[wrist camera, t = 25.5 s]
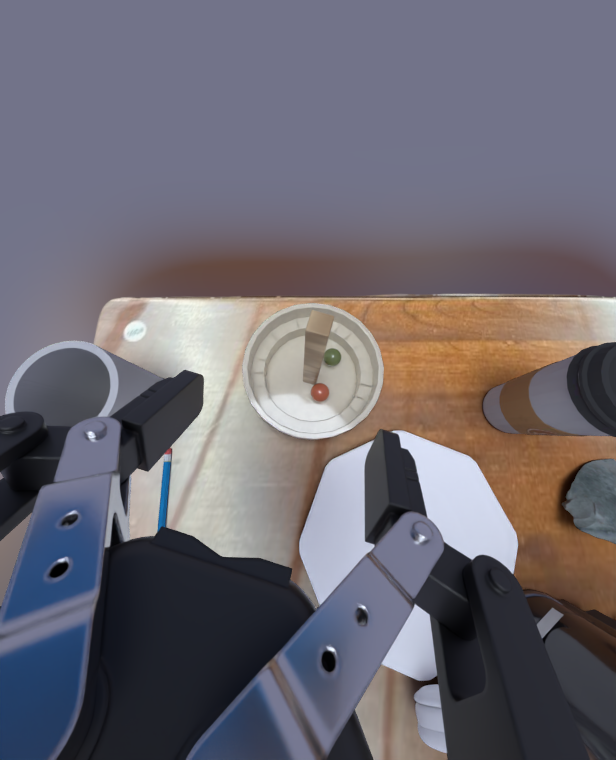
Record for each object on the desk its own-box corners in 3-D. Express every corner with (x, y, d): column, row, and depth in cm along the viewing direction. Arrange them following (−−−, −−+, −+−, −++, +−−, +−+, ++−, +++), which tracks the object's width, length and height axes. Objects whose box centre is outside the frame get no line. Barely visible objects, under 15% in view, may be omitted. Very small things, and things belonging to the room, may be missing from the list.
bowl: (358, 316, 38) (367, 296, 33) (382, 429, 34) (397, 426, 29) (245, 331, 37) (236, 312, 32) (257, 449, 33) (250, 449, 28)
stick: (319, 373, 35) (334, 315, 20) (315, 385, 35) (328, 337, 19) (306, 369, 35) (311, 309, 20) (302, 381, 35) (305, 330, 19)
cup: (92, 429, 33) (-19, 420, 22) (131, 365, 35) (48, 326, 24) (157, 457, 33) (78, 464, 21) (192, 390, 35) (138, 363, 23)
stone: (530, 464, 35) (574, 554, 30) (558, 456, 32) (612, 556, 26) (599, 462, 36) (652, 549, 31) (633, 454, 33) (698, 549, 28)
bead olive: (338, 350, 36) (340, 344, 34) (341, 367, 36) (344, 361, 33) (320, 353, 36) (322, 346, 34) (324, 369, 35) (325, 364, 33)
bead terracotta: (333, 385, 34) (323, 399, 35) (317, 376, 34) (307, 390, 35) (333, 394, 32) (322, 408, 33) (316, 384, 32) (306, 399, 33)
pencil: (172, 448, 33) (170, 448, 32) (159, 609, 29) (156, 613, 28) (166, 448, 33) (163, 448, 32) (152, 609, 29) (148, 613, 28)
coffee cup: (476, 439, 34) (607, 435, 20) (470, 377, 36) (584, 332, 22) (539, 442, 35) (714, 440, 20) (529, 381, 37) (682, 338, 22)
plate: (273, 608, 29) (272, 616, 28) (344, 409, 35) (346, 408, 33) (481, 700, 28) (491, 714, 26) (519, 477, 33) (529, 479, 32)
